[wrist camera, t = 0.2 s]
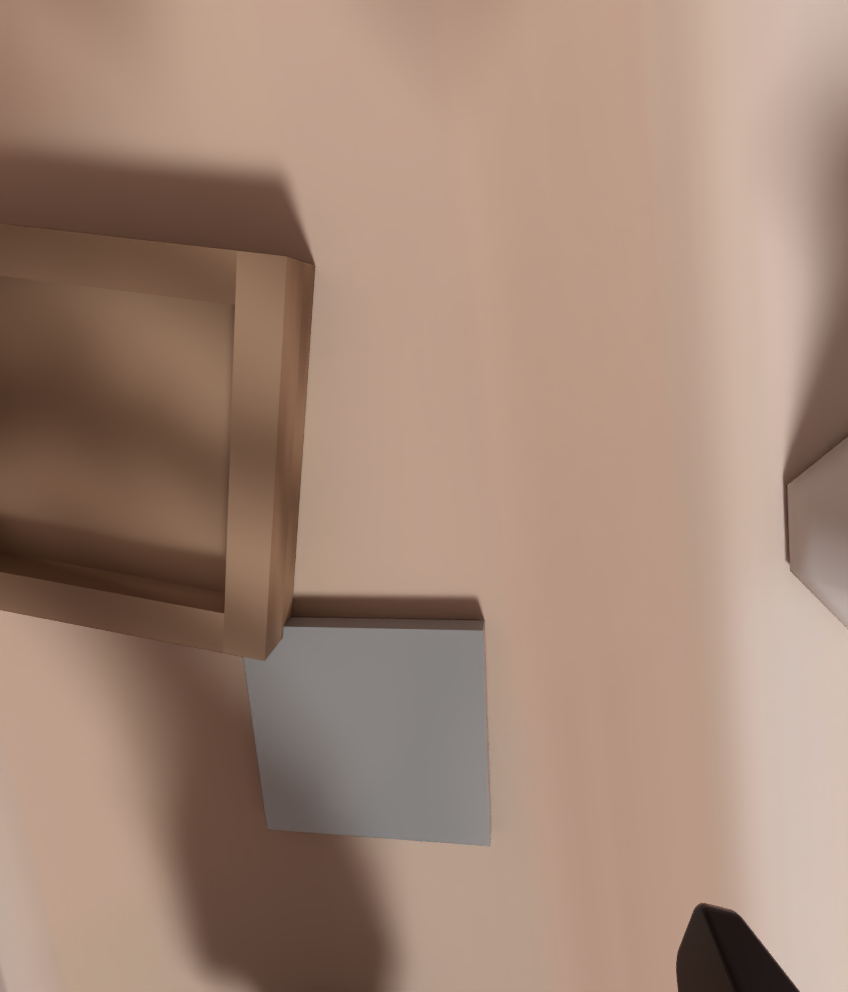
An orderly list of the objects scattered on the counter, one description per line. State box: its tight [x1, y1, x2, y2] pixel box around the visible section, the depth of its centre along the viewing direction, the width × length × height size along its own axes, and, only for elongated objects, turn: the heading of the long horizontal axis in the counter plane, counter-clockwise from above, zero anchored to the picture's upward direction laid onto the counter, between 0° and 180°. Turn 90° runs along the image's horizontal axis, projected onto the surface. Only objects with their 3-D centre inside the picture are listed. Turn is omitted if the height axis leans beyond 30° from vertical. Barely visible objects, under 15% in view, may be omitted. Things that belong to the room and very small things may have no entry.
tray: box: [0, 224, 315, 661], centre depth 21 cm, size 13×13×2 cm
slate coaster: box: [243, 617, 491, 846], centre depth 24 cm, size 9×9×1 cm
